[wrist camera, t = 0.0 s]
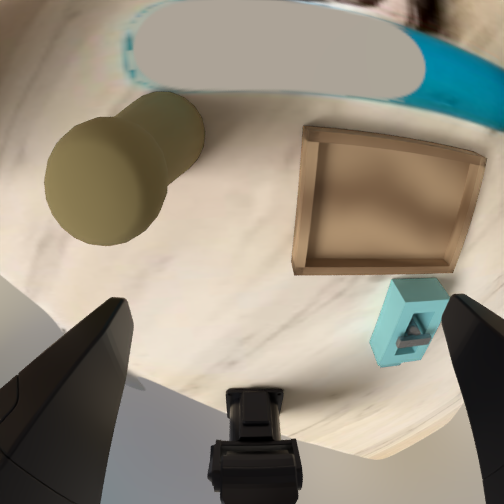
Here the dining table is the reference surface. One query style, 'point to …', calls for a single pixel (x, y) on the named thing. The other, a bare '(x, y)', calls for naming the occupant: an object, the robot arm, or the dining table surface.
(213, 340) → the dining table surface
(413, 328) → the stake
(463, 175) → the tray
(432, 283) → the teal hollow block
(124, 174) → the cork
